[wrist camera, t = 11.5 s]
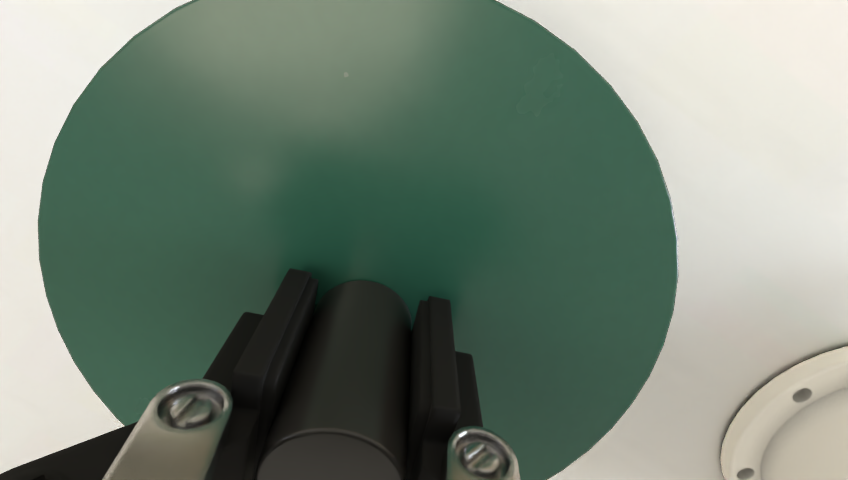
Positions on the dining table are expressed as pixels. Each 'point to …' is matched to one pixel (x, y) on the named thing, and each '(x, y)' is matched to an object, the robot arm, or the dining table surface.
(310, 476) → the lid
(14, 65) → the dining table surface
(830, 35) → the dining table surface
